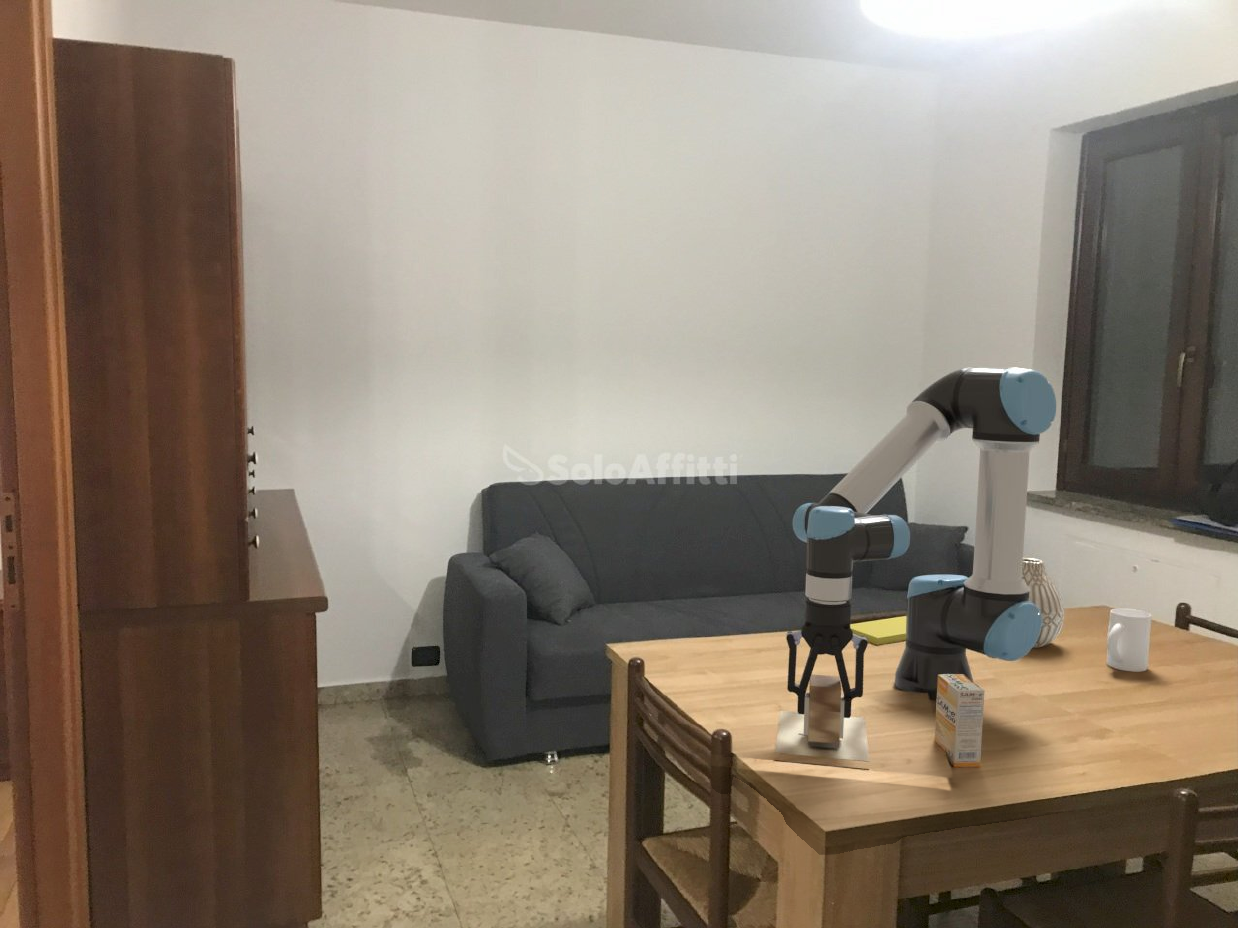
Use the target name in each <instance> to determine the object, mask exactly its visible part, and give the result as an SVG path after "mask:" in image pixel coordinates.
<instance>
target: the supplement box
mask: <svg viewBox="0 0 1238 928" xmlns="http://www.w3.org/2000/svg"><path fill="white" fill-rule="evenodd" d="M984 705H985V690H984V689H983V688H981V687H980V686H979V685H978V684H976V683H975V682H974V681H973V682H972V681H971V680H970V679H968V678H967V677H966V676H965V675H963V674H940V675H938V685H937V699H936V707H935V708H936V709H935V724H934V725H935V726H934V727H935V728H934V741H935V742H936V743H937V744H938V745H939V746H940V747H941V748H942V749H943V750H944V751H945V755H946V758H947V761H948V762H949V763H950V765H952V767H954V768H967V767H968V768H970V767H971V768H975V767H980V766H981V756H982V755H981V753H982V741H983V740H982V739H983V737H982V736H983V724H984V723H983V721H984V720H983V719H984Z"/></svg>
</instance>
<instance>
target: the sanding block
mask: <svg viewBox="0 0 1238 928" xmlns="http://www.w3.org/2000/svg"><path fill="white" fill-rule="evenodd" d="M808 687H809V689H808V690H809V692H808V693H809V722H808V746H814V747H826V748H837V749H839V739H840V711H841V695H842V685H841V680H840V676H837V675H825V674H824V675H821V674H813V673H812V674H811V677H810V681H809V686H808Z"/></svg>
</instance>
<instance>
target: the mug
mask: <svg viewBox="0 0 1238 928" xmlns="http://www.w3.org/2000/svg"><path fill="white" fill-rule="evenodd" d="M1151 625H1152V614H1151V613H1149V612H1146V611H1144V610H1139V609H1134V608H1127V607H1126V608H1124V607H1123V608H1121V607H1120V608H1112V609H1110V612H1109V625H1108V627H1107V630H1108V632H1107V634H1106V635H1107V637H1106V638H1107V643H1106V650H1107V652H1106V653H1107V654H1106V664H1107V665H1108V666H1109V667H1111V668H1113V669H1115V670H1116V669H1117V670H1119V671H1124V672H1125V671H1126V672H1134V673H1135V672H1136V673H1139V672H1146V671H1148V667H1149V666H1148V665H1149V655H1150V654H1149V653H1150V640H1151V639H1150V637H1151V628H1152V627H1151Z"/></svg>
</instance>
